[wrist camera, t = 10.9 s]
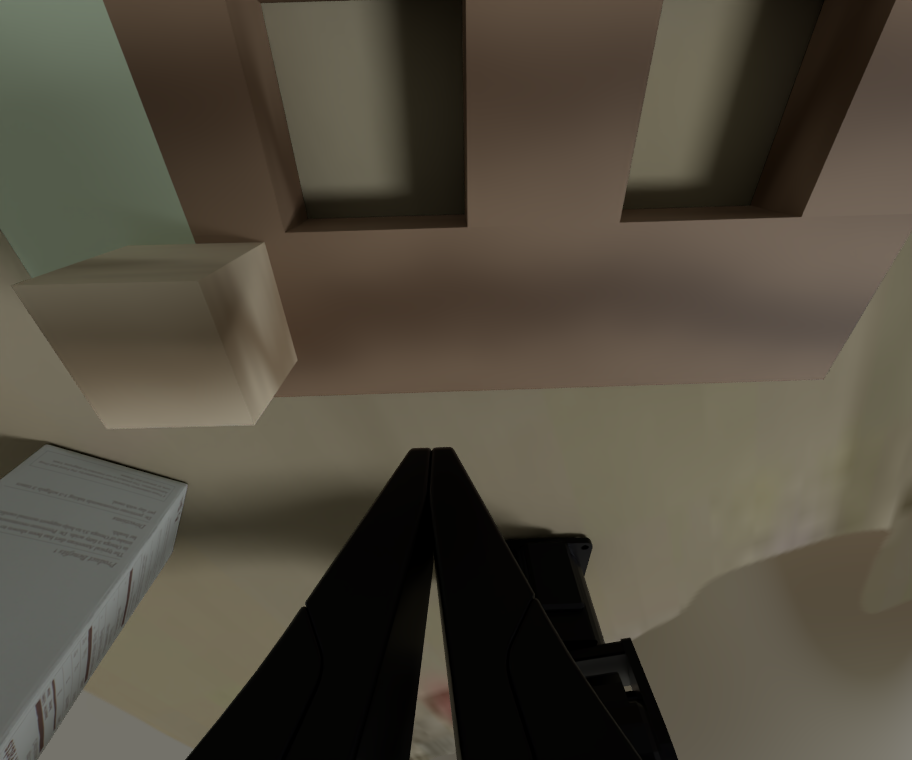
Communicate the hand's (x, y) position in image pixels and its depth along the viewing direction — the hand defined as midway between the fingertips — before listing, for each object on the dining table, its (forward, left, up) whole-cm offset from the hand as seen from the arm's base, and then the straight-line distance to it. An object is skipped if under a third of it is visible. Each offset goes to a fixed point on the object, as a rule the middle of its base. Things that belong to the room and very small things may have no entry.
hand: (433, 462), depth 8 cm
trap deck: (+3, -1, -10) cm, 11 cm away
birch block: (0, +8, -8) cm, 11 cm away
